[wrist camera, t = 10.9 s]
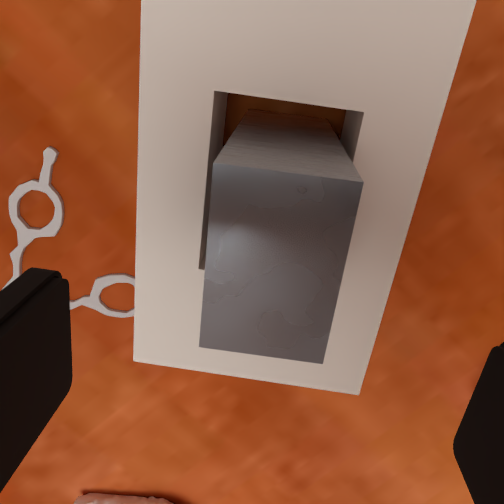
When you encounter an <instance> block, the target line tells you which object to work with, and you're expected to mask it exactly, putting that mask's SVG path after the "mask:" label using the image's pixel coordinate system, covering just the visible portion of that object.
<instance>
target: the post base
mask: <svg viewBox="0 0 504 504" xmlns="http://www.w3.org/2000/svg"><path fill="white" fill-rule="evenodd" d="M475 4H476V0H141V36H140V82H139V127H138V173H137V218H136V264H135V309H134V355H133V361H136V362H142V363H149V364H156V365H162V366H169V367H175V368H182V369H189V370H195V371H202V372H208V373H215V374H222V375H228V376H235V377H241V378H248V379H255V380H261V381H268V382H275V383H281V384H288V385H294V386H301V387H308V388H314V389H321V390H327V391H334V392H341V393H347V394H354V395H359V393H360V389H361V386H362V383H363V379H364V376H365V373H366V369H367V366H368V363H369V359H370V356H371V353H372V349H373V346H374V343H375V339H376V336H377V332H378V329H379V326H380V322H381V319H382V316H383V312H384V309H385V306H386V302H387V299H388V296H389V292H390V289H391V285H392V282H393V279H394V275H395V272H396V269H397V265H398V262H399V259H400V255H401V252H402V249H403V245H404V242H405V239H406V235H407V232H408V228H409V225H410V222H411V218H412V215H413V212H414V208H415V205H416V202H417V198H418V195H419V192H420V188H421V185H422V182H423V178H424V175H425V171H426V168H427V165H428V161H429V158H430V155H431V151H432V148H433V145H434V141H435V138H436V135H437V131H438V128H439V124H440V121H441V118H442V114H443V111H444V108H445V104H446V101H447V98H448V94H449V91H450V88H451V84H452V81H453V78H454V74H455V71H456V67H457V64H458V61H459V57H460V54H461V51H462V47H463V44H464V41H465V37H466V34H467V31H468V27H469V24H470V20H471V17H472V14H473V10H474V7H475ZM228 93H235V94H242V95H249V96H256V97H263V98H269V99H276V100H283V101H290V102H297V103H304V104H311V105H318V106H325V107H332V108H339V109H346V114H345V119H344V123H343V128H342V133H341V138H340V142H341V144H342V146H343V147H344V149H345V151H346V153H347V154H348V156H349V158H350V159H351V161H352V163H353V165H354V166H355V168H356V170H357V171H358V173H359V175H360V176H361V178H362V180H363V182H364V184H363V188H362V193H361V197H360V202H359V206H358V211H357V215H356V219H355V224H354V228H353V233H352V237H351V242H350V246H349V250H348V255H347V259H346V264H345V268H344V273H343V277H342V281H341V286H340V290H339V295H338V299H337V304H336V308H335V313H334V317H333V321H332V326H331V330H330V335H329V339H328V344H327V348H326V352H325V357H324V361H323V364H317V363H310V362H303V361H295V360H288V359H281V358H274V357H266V356H259V355H252V354H245V353H238V352H230V351H223V350H216V349H209V348H201V347H199V338H200V325H201V312H202V299H203V287H204V274H205V261H206V248H207V236H208V223H209V210H210V197H211V185H212V172H213V162H214V161H215V159H216V158H217V156H218V155H219V153H220V152H221V150H222V148H223V138H224V128H225V118H226V108H227V98H228Z"/></svg>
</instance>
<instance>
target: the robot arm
mask: <svg viewBox="0 0 504 504" xmlns="http://www.w3.org/2000/svg"><path fill="white" fill-rule="evenodd" d="M71 383H72V351H71V324H70V297H69V283H68V280H66V279H62V276H61V273H60V272H58V271H53V270H47V269H40V268H33V267H32V268H30V269H28V270H27V271H25V272H24V273H23V274H21V275H20V276H19V277H18V278H16V279H15V280H14V281H13V282H11V283H10V284H9V285H7V286H6V287H5V288H4V289H2V290H1V291H0V493H1V491H2V490H3V488H4V487H5V485H6V484H7V482H8V481H9V479H10V478H11V476H12V475H13V473H14V472H15V470H16V469H17V467H18V466H19V464H20V463H21V462H22V460H23V459H24V457H25V456H26V454H27V453H28V451H29V450H30V448H31V447H32V445H33V444H34V442H35V441H36V439H37V438H38V436H39V435H40V433H41V432H42V430H43V429H44V428H45V426H46V425H47V423H48V422H49V420H50V419H51V417H52V416H53V414H54V413H55V411H56V410H57V408H58V407H59V405H60V404H61V402H62V401H63V399H64V398H65V397H66V395H67V393H68V392H69V389H70V387H71ZM453 450H454V455H455V458H456V460H457V463H458V465H459V468H460V470H461V472H462V475H463V477H464V480H465V482H466V484H467V487H468V489H469V492H470V494H471V496H472V499H473V501H474V504H504V342H503V343H502V344H501V345H500V346H496V347H494V348H493V349H492V350H491V352H490V354H489V356H488V359H487V361H486V363H485V366H484V368H483V371H482V373H481V375H480V378H479V380H478V383H477V385H476V387H475V390H474V392H473V395H472V397H471V399H470V402H469V404H468V407H467V409H466V411H465V414H464V416H463V419H462V421H461V423H460V426H459V428H458V431H457V433H456V435H455V438H454V443H453Z"/></svg>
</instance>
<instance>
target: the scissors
mask: <svg viewBox="0 0 504 504" xmlns="http://www.w3.org/2000/svg"><path fill="white" fill-rule="evenodd" d="M58 154H59V152H58V151H57V150H56V149H55V148H53V147H48V148H46V149H45V150H44V151H43V155H44V162H43V167H42V170H41V173H40V178H39V180H36V179H33V180H31V181H28V182H26V183H23V184H21V185H19V186H18V187H17V188H16V189H15V190H14V192H13V193H12V194H11V196H10V197H9V214H10V217H11V221H12V223H13V224H14V226H15V228H16V230H17V236H18V246H17V247H16V248H15V249H14V250H13V251H12V252H11V253H10V256H11V259H12V262H13V277H12V278H11V279H10V281H9V282H8V283H7V284H6V285H5V286H4V288H5V287H6V286H7V285H9V284H10V283H11V282H13V281H14V280H15V279H16V278H18V277H19V276H20V275H21V274H22V256H23V253H24V251H25V248H26V246H27V245H28V244H29V243H30V242H32V241H33V240H34V239H35V238H38V237H49V236H55V235H57V233H58V232H59V230H60V228H61V227H62V224H63V220H64V203H63V200H62V198H61V196H60V194H59V193H58V192H57V191H56V189H55V188H54V187H53V186H52V185H51V177H52V170H53V164H54V163H55V162H56V160H57V157H58ZM30 190H39V191H42V192H44V193H46V194H47V195H48V196H49V197H50V199H51V200H52V201H53V203H54V206H55V214H54V217H53V220H52V221H51V222H50V223H49V224H48V225H47V226H45V227H43V228H36V227H30V226H29V225H28V224H27V223H26V222H25V220H24V219H23V218H22V217H21V216H20V209H19V206H20V201H21V198H22V197H23V196H24V195H25V194H26V193H27V192H28V191H30ZM117 282H118V283H130V284H132V285H133V286H134V287H135V277H133V276H131V275H128V274H126V273H121V274H108V275H104V276H101V277H98V278H97V279H96V280H95V283H94V286H93V289H92V291H91V294H90V295H85V296H83V297H81V298H79V299H77V300H70V310H71V309H73V308H75V307H78V306H80V305H84V306H87V307H90V308H92V309H95V310H97V311H99V312H101V313H103V314H105V315H108V316H114V317H121V318H124V317H130V316H133V315H134V309H135V307H134V308H133V309H131V310H129V311H122V310H114V309H111V308H108V307H107V306H106V305H105V304H104V303H103V302H102V301H101V298H100V294H101V291H102V289H103V288H105V287H107V286H109V285H112V284H114V283H117ZM4 288H3V289H4Z"/></svg>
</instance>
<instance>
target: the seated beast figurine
mask: <svg viewBox="0 0 504 504" xmlns="http://www.w3.org/2000/svg"><path fill="white" fill-rule="evenodd" d="M74 504H174V503H171V502H169V501H168V500H166V499H164V498H159V499H158V498H155V497H153V496H151V497H149V498H146V497H138V496H125V495H112V494H101V493H88V494H87V495H81V496H78V498H77V499H76V500H75V502H74Z"/></svg>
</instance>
